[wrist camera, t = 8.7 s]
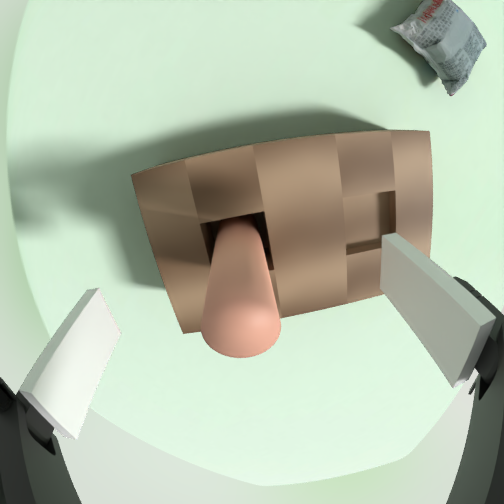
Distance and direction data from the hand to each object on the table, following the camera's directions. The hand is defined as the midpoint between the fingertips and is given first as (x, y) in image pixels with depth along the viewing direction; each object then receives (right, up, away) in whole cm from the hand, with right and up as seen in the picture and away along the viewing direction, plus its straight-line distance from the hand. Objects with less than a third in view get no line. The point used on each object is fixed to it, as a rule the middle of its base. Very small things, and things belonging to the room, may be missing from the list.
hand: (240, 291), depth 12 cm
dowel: (-1, +3, +9) cm, 10 cm away
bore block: (+4, +5, +11) cm, 13 cm away
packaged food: (+18, +24, +5) cm, 30 cm away
